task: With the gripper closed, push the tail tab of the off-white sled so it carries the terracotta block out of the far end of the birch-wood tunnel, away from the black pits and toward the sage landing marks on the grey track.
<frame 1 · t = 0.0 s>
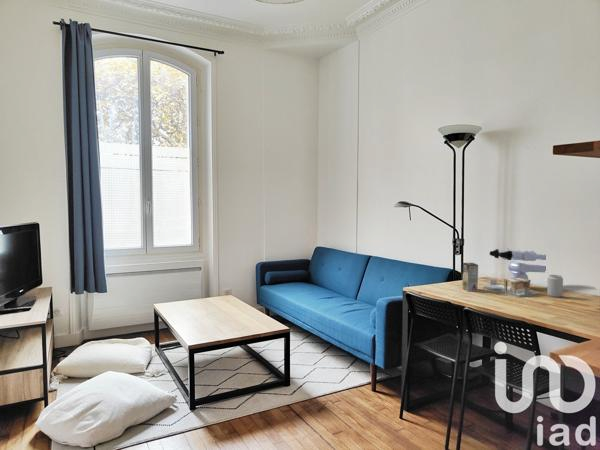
hand: (494, 253, 259), 22 cm above the table, tool horizontal, fingers open, 7 cm apart
sled: (506, 285, 255), point 3 cm above the table, slide at 0.0 cm, touching block
block: (517, 289, 248), point 2 cm above the table, touching sled
coffee box: (469, 290, 258), on the table
tunnel: (516, 293, 248), resting on track
can: (554, 296, 241), on the table
track: (509, 291, 253), on the table
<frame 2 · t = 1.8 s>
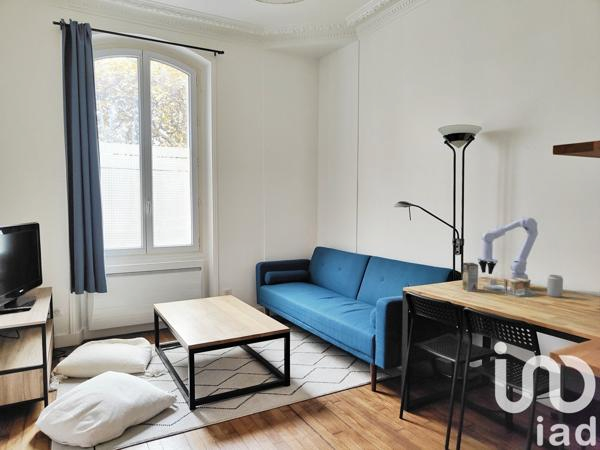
hand: (486, 273, 269), 8 cm above the table, tool pointing down, fingers open, 5 cm apart
nothing on the table moved.
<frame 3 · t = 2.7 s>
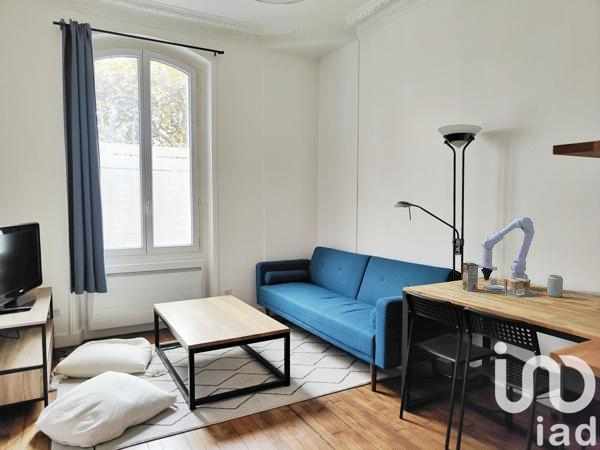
hand: (486, 280, 269), 4 cm above the table, tool pointing down, fingers closed
nothing on the table moved.
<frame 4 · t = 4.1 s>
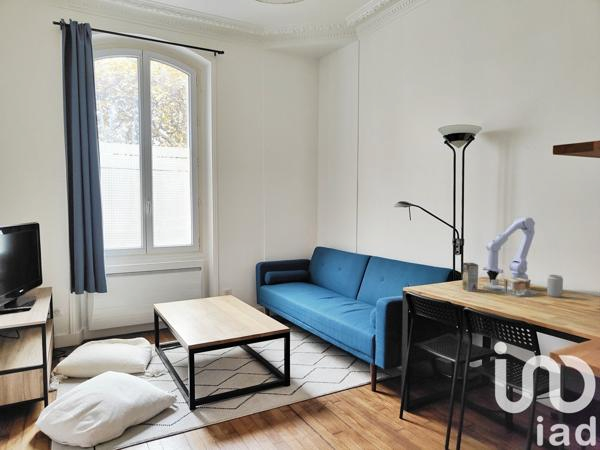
hand: (492, 283, 265), 3 cm above the table, tool pointing down, fingers closed
sled: (508, 285, 254), point 3 cm above the table, slide at 1.5 cm, touching block, gripper
block: (519, 290, 247), point 2 cm above the table, touching sled
everything else where it was.
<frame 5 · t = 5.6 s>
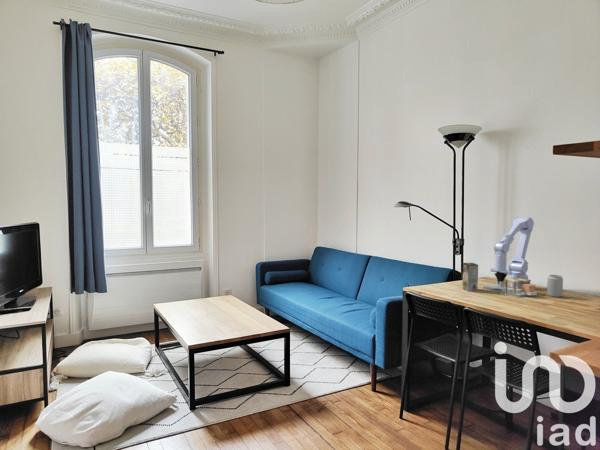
hand: (500, 284, 259), 3 cm above the table, tool pointing down, fingers closed
sled: (517, 287, 248), point 3 cm above the table, slide at 7.8 cm, touching block, gripper
block: (528, 292, 241), point 2 cm above the table, touching sled
everything else where it was.
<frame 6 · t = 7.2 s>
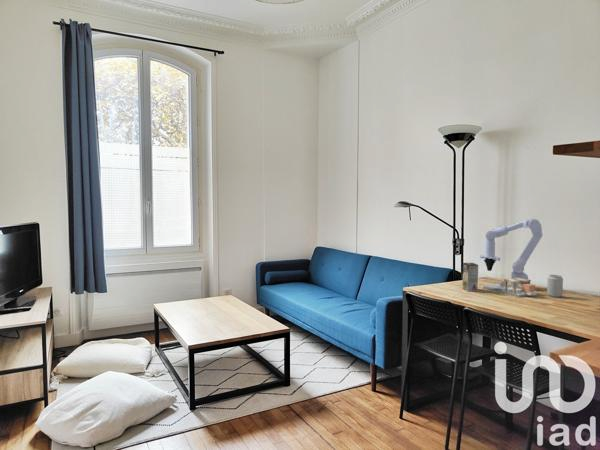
hand: (489, 270, 273), 9 cm above the table, tool pointing down, fingers closed
sled: (517, 287, 248), point 3 cm above the table, slide at 7.9 cm, touching block
everything else where it was.
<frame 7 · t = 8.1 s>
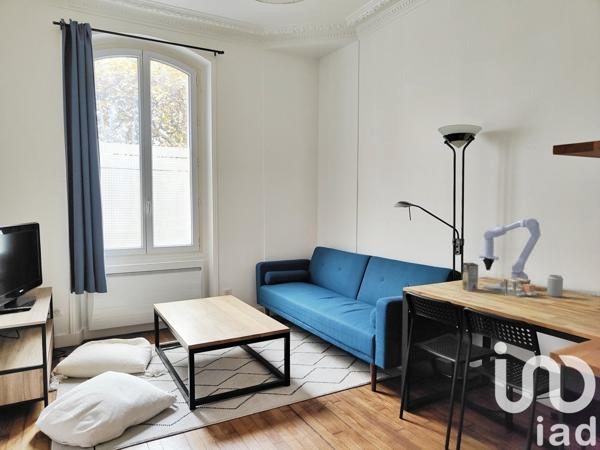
hand: (488, 270, 276), 9 cm above the table, tool pointing down, fingers closed
nothing on the table moved.
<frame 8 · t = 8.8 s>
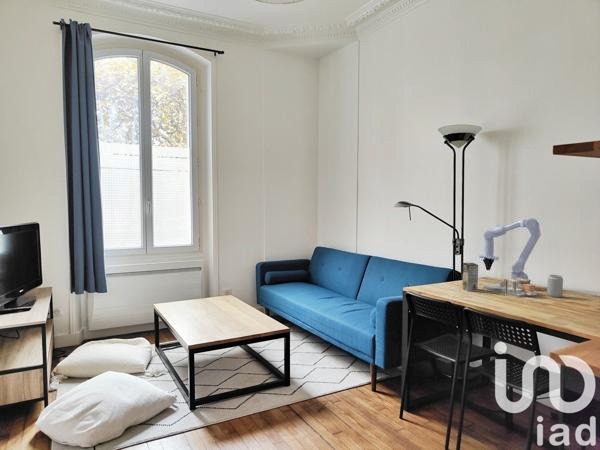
hand: (488, 270, 276), 9 cm above the table, tool pointing down, fingers closed
nothing on the table moved.
at the end: sled slide at 7.9 cm; block inside the target area (1.4 cm from its centre), point 2.1 cm above the table; block tilted 0° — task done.
